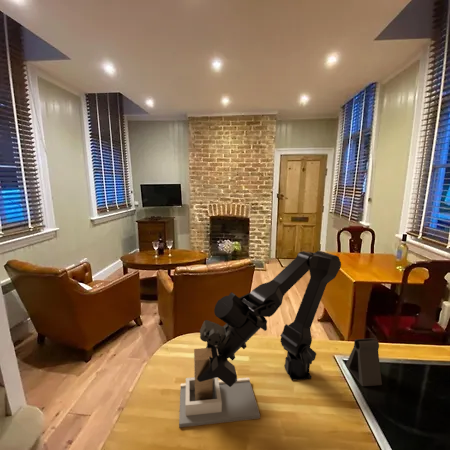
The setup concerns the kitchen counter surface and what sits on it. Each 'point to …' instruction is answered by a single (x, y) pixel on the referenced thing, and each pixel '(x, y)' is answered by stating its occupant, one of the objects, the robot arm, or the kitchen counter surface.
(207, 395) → the bar
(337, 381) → the kitchen counter surface
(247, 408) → the grey socket base
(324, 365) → the kitchen counter surface
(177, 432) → the kitchen counter surface
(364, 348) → the phone stand
